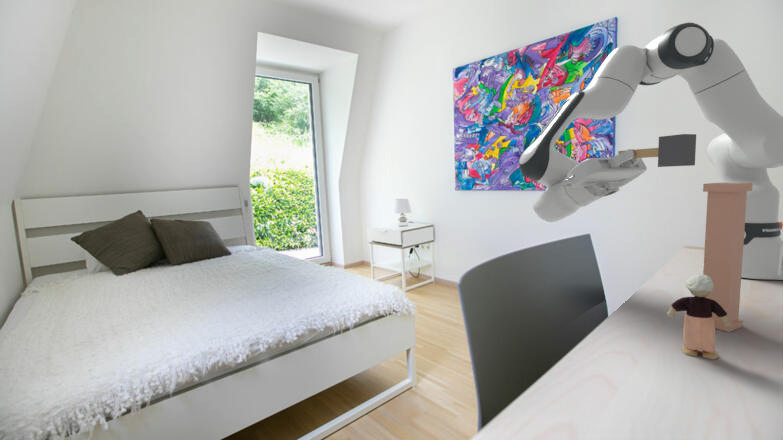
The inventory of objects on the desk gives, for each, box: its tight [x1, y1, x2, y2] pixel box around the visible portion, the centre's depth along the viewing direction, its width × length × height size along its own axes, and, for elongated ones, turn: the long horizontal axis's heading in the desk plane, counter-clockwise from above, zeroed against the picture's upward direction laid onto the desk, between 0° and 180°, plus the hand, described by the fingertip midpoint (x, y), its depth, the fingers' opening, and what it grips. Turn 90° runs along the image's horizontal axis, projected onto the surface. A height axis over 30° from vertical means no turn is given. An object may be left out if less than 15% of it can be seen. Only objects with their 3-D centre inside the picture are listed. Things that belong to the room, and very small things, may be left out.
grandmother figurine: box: [666, 273, 732, 360], centre depth 58 cm, size 8×4×13 cm, turn 65°
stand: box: [702, 182, 753, 333], centre depth 68 cm, size 5×5×26 cm
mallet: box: [617, 133, 697, 168], centre depth 79 cm, size 4×13×6 cm, turn 27°
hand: (638, 151), depth 81 cm, fingers closed on mallet, 2 cm apart
